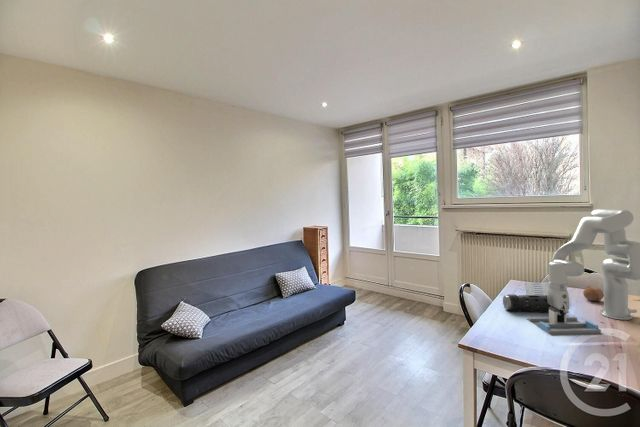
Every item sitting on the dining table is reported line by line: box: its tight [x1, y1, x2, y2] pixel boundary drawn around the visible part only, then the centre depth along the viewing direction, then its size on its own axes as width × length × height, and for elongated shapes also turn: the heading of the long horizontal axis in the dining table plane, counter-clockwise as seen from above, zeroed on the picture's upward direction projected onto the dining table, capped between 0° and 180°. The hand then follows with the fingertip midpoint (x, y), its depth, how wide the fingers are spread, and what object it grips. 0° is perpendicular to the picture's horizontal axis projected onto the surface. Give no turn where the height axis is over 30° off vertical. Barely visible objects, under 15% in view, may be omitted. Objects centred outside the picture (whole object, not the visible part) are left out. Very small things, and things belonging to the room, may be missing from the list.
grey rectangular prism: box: [548, 307, 567, 323], centre depth 158 cm, size 6×4×8 cm, turn 87°
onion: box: [582, 285, 604, 303], centre depth 189 cm, size 10×9×10 cm
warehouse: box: [524, 281, 548, 296], centre depth 198 cm, size 30×14×8 cm, turn 147°
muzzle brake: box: [502, 294, 549, 313], centre depth 175 cm, size 10×28×10 cm, turn 78°
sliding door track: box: [526, 316, 605, 337], centre depth 154 cm, size 24×20×4 cm
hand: (557, 320), depth 158 cm, fingers closed on grey rectangular prism, 4 cm apart
